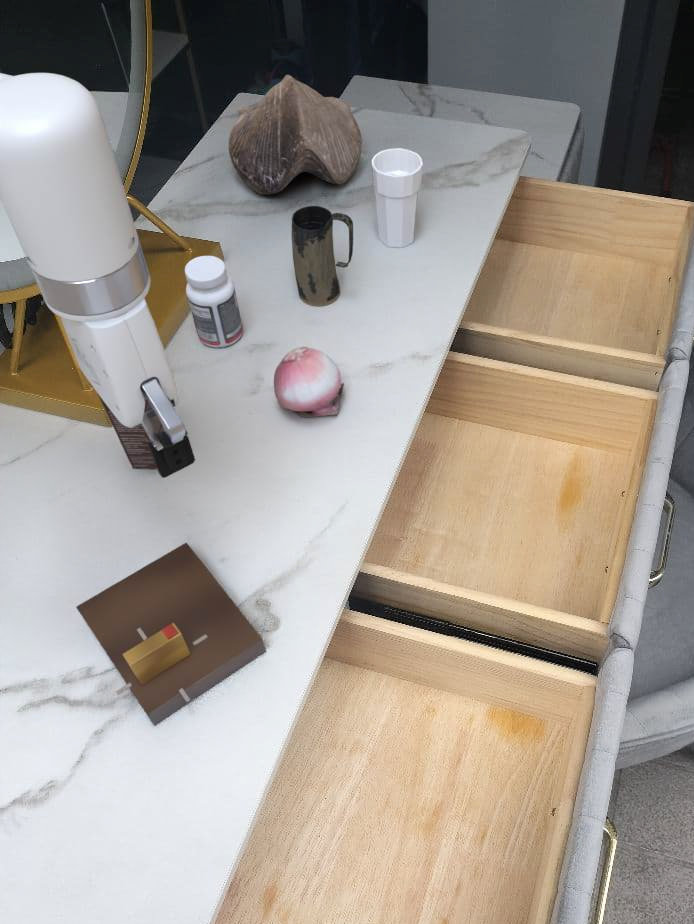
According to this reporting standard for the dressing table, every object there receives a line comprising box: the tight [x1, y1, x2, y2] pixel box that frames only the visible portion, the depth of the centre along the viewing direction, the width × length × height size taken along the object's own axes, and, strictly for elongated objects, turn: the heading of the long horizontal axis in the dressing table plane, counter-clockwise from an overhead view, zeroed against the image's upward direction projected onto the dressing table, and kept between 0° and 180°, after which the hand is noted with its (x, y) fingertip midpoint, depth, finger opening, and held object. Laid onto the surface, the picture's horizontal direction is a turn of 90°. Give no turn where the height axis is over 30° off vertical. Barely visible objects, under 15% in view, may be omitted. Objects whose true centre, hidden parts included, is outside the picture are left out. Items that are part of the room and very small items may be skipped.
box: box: [96, 392, 164, 470], centre depth 87 cm, size 6×4×12 cm
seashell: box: [228, 74, 363, 195], centre depth 119 cm, size 16×17×15 cm
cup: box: [371, 147, 424, 249], centre depth 110 cm, size 7×7×11 cm
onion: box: [273, 346, 345, 418], centre depth 93 cm, size 8×8×7 cm
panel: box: [75, 542, 267, 727], centre depth 77 cm, size 15×13×3 cm
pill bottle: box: [184, 255, 244, 348], centre depth 99 cm, size 6×6×10 cm
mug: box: [291, 205, 354, 307], centre depth 102 cm, size 8×6×12 cm
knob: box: [123, 623, 191, 685], centre depth 72 cm, size 5×1×4 cm, turn 128°
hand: (151, 433), depth 72 cm, fingers open, 9 cm apart
